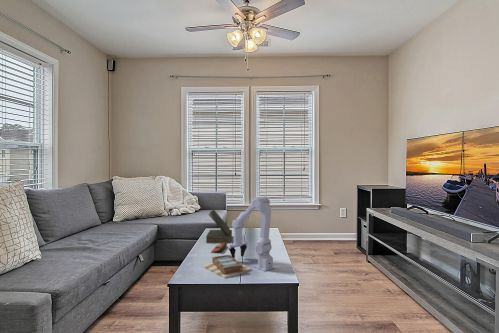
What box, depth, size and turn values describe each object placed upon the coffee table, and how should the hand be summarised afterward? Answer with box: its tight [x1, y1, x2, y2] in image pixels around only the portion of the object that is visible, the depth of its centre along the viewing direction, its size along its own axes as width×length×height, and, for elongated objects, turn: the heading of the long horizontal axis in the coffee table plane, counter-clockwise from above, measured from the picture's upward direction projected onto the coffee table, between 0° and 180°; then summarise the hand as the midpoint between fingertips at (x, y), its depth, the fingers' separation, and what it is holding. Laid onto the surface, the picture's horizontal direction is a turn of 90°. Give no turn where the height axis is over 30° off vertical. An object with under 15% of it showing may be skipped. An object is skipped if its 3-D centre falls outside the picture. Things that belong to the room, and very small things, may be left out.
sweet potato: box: [210, 242, 228, 254], centre depth 222 cm, size 18×7×7 cm
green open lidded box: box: [205, 209, 233, 244], centre depth 251 cm, size 23×20×25 cm
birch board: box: [202, 262, 252, 279], centre depth 182 cm, size 24×20×1 cm
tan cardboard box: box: [211, 254, 244, 274], centre depth 182 cm, size 22×12×4 cm, turn 24°
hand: (237, 257), depth 198 cm, fingers open, 7 cm apart
